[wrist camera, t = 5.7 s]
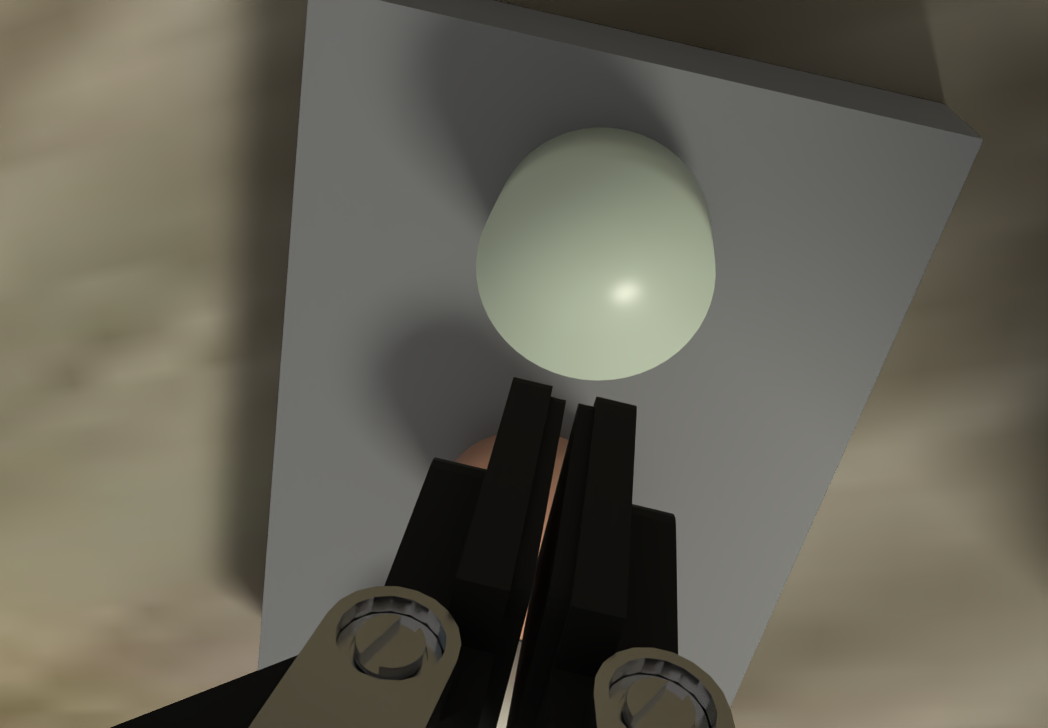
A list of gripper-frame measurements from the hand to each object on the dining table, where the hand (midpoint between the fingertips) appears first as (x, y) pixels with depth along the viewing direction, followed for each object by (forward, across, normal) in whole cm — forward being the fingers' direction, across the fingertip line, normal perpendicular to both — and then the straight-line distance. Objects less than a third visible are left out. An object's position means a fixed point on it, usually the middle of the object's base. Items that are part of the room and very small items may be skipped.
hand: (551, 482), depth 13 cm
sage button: (+10, 0, 0) cm, 10 cm away
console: (+13, 0, +7) cm, 15 cm away
